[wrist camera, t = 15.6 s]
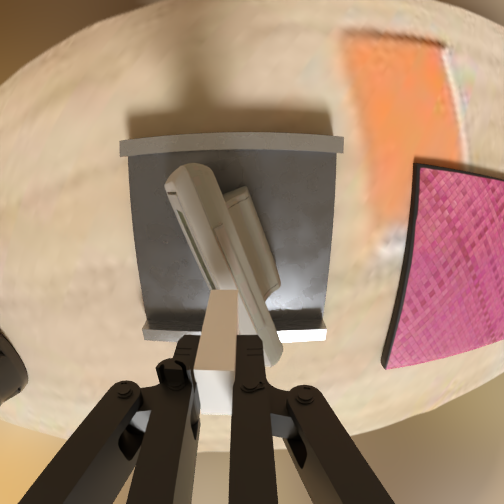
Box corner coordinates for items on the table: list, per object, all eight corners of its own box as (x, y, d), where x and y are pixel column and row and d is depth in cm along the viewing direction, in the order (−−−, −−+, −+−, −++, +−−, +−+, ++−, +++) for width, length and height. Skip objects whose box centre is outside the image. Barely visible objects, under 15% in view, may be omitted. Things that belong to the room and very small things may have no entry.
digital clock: (165, 168, 25) (119, 179, 15) (260, 151, 25) (271, 149, 15) (199, 318, 31) (184, 386, 21) (281, 306, 31) (297, 374, 21)
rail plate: (151, 325, 32) (144, 340, 29) (131, 141, 25) (119, 140, 22) (319, 325, 33) (325, 339, 30) (333, 138, 26) (343, 136, 23)
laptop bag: (386, 378, 32) (426, 164, 24) (376, 361, 36) (407, 162, 28) (536, 331, 33) (568, 199, 25) (525, 323, 37) (554, 195, 28)
